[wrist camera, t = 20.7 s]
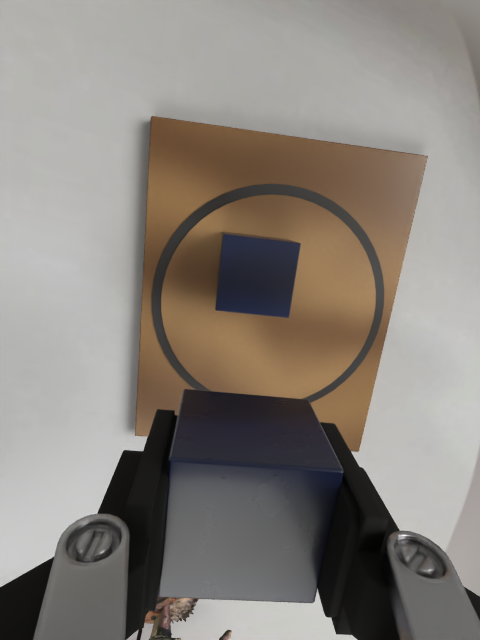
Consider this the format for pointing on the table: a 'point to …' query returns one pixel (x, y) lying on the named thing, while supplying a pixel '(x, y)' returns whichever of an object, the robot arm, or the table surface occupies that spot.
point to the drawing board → (311, 277)
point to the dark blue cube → (256, 274)
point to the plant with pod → (171, 617)
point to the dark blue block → (247, 499)
